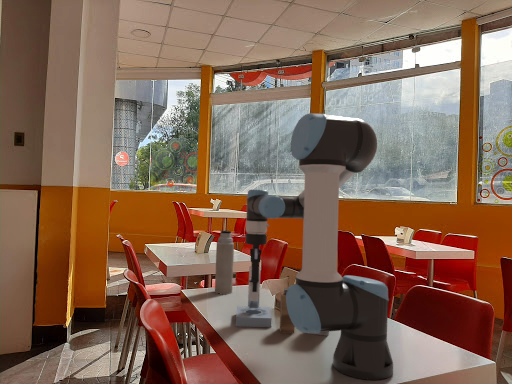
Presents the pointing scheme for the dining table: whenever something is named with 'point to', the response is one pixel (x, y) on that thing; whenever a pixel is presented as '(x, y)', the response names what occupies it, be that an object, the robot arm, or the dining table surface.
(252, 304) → the silver slim bottle
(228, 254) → the thermos bottle
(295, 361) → the dining table surface
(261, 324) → the socket block
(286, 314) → the square bit
